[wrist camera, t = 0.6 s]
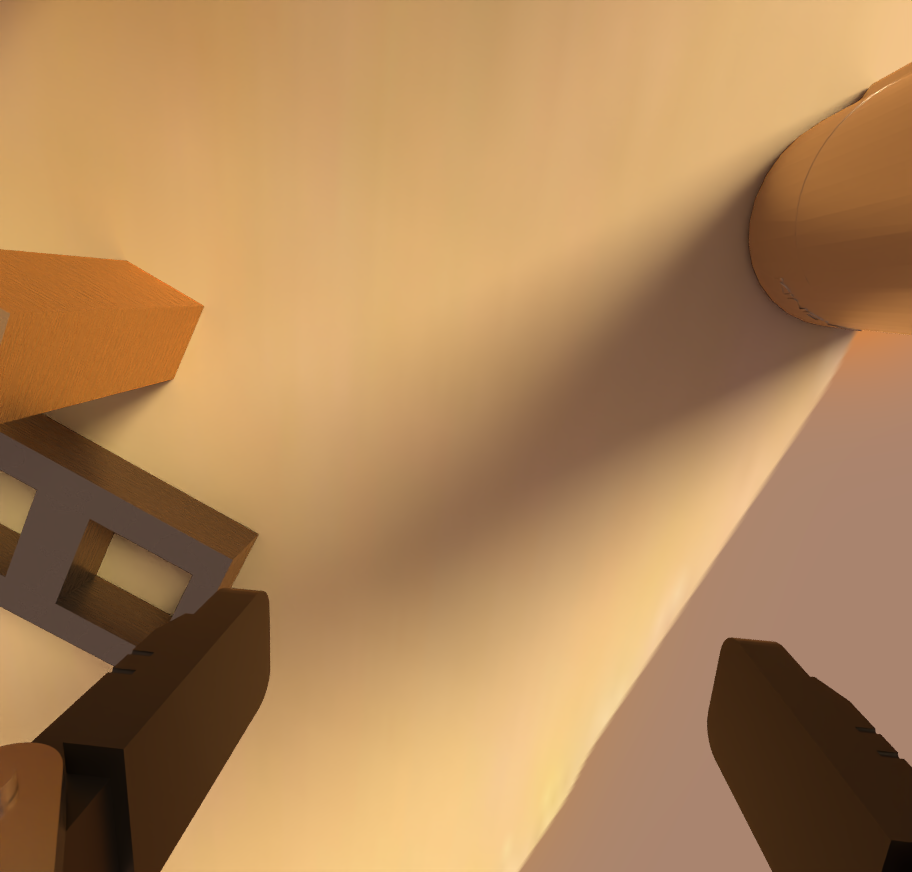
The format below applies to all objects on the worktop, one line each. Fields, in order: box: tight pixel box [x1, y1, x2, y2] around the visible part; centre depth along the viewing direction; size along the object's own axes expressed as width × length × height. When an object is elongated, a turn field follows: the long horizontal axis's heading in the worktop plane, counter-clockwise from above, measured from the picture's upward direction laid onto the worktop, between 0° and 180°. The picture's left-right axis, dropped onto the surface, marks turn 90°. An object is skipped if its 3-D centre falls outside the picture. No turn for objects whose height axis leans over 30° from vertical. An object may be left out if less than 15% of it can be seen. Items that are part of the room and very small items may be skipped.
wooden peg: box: [0, 249, 204, 424], centre depth 22 cm, size 4×4×11 cm
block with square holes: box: [0, 414, 258, 666], centre depth 29 cm, size 10×18×3 cm, turn 60°
